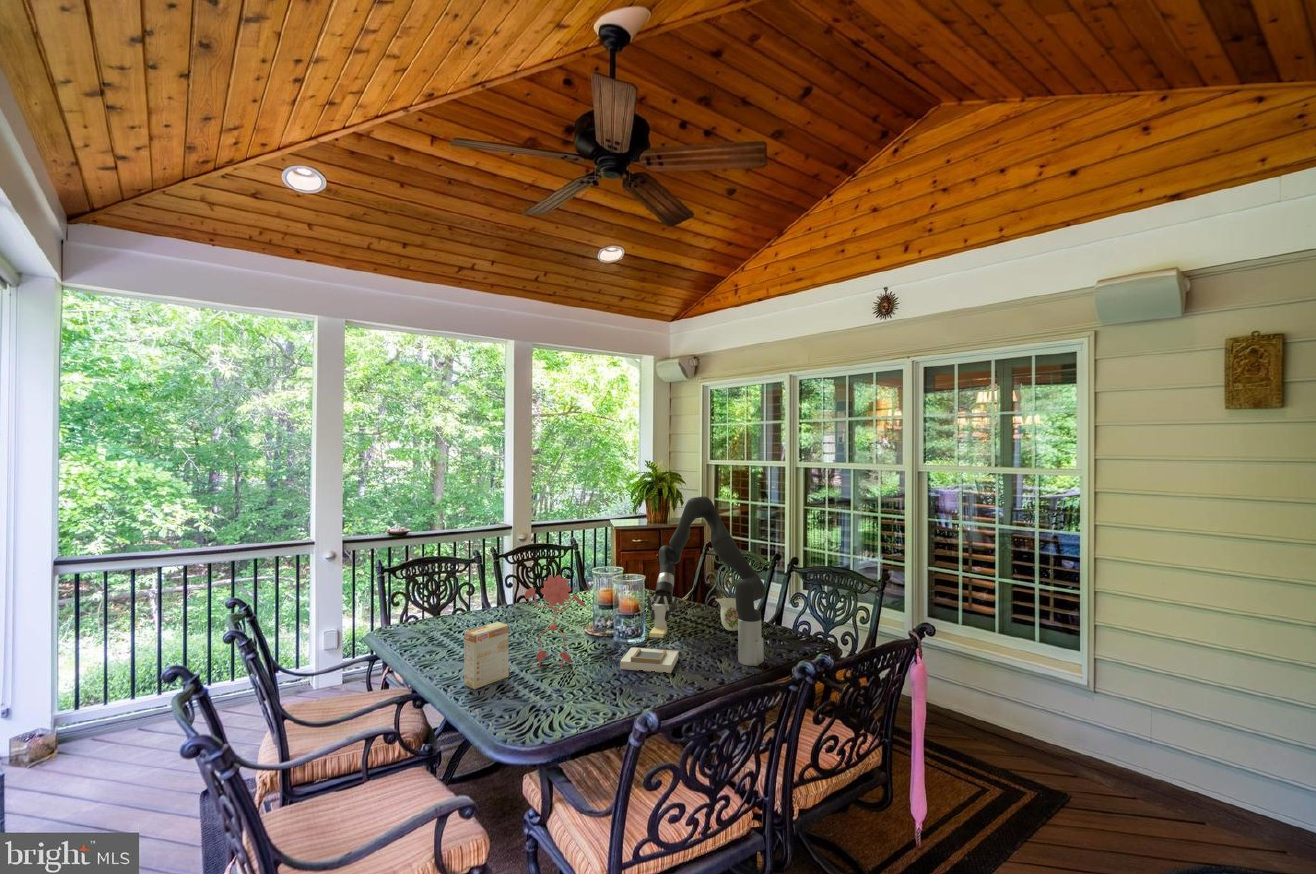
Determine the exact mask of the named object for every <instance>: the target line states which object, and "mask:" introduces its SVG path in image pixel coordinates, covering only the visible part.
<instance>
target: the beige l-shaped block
mask: <svg viewBox="0 0 1316 874" xmlns="http://www.w3.org/2000/svg"><path fill="white" fill-rule="evenodd" d="M653 606H654V617H655V620H653V621H654V625H653V627H652V629H651V630H650V631H649V633H648V638H649V639H653V640H654V639H655V640H665V638H666V635H668V634H669V627H668V626H667V622H668V621H665V613H666V611H667V609H666V604H654V603H653Z"/></svg>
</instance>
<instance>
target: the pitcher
mask: <svg viewBox="0 0 1316 874" xmlns="http://www.w3.org/2000/svg"><path fill="white" fill-rule="evenodd" d="M715 601H716V602H718V604H719V605H720V620H721V624H722V626H723V627H724V629H725V630H727V631H729V632H735V631H737V632H738V613H737V610H736V599H735V598H734V597H724V598H715Z"/></svg>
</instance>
